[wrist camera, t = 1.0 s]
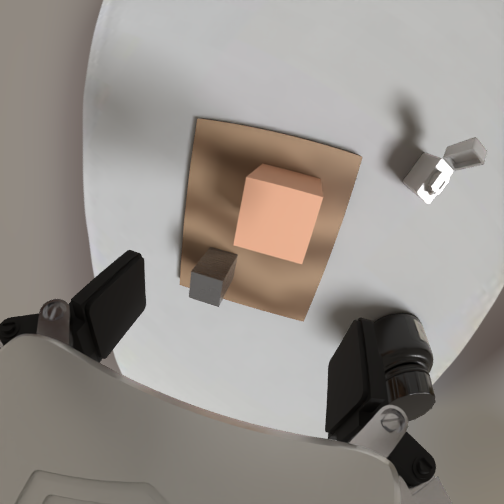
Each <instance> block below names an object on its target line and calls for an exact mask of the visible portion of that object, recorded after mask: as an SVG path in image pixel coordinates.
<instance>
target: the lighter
mask: <svg viewBox="0 0 504 504" xmlns="http://www.w3.org/2000/svg"><path fill="white" fill-rule="evenodd" d="M486 154H487V150H486V149H485V147H484V146H483V145H482V143H481V142H480V141H479V139H478V138H476V137H474V138H471V139H468V140H465V141H462V142H459V143H457V144H454V145H451V146H448V147H447V148H446V151H445V154H444V156H443V159H442V158H439V157H437V156H434V155H431V154H428V153H423V154H422V155H421V157H420V158H419V159H418V161H417V162H416V164H415V165H414V166H413V168H412V169H411V170H410V172H409V173H408V174H407V176H406V177H405V178H404V180H403V183H404V184H405V185H406V186H407V187H408V188H409V189H410V190H411V191H412V192H413V193H415V194H416V195H417V196H419V197H420V198H421V199H422V200H423V201H425V202H426V203H427V204H430V203H431V201H432V200H433V199H434V197H435V196H436V195H437V194H438V195H439V194H440V193H441V191H442V190H443V189H444V187H445V186H446V185H447V183H448V182H449V177H450V176H451V174H452V173H453V170H455V171H456V170H460V169H465V168H470V167H474V166H479V165H483V164H484V162H485V158H486Z"/></svg>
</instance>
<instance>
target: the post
mask: <svg viewBox="0 0 504 504" xmlns="http://www.w3.org/2000/svg"><path fill="white" fill-rule="evenodd" d="M237 257H238V254H234V253H231V252H227V251H224V250H220V249H217V248H213V247H210V248H209V249H208V250H207V252H206V253H205V254H204V255H203V257H202V258H201V259H200V260H199V262H198V263H197V264H196V266H195V267H194V268H193V269H192V271H191V277H190V291H189V297H190V298H193V299H196V300H199V301H202V302H205V303H208V304H211V305H214V306H217V307H219V305H220V303H221V301H222V300H223V298H224V296H225V294H226V292H227V290H228V288H229V286H230V284H231V282H232V280H233V277H234V272H235V267H236V262H237Z"/></svg>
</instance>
